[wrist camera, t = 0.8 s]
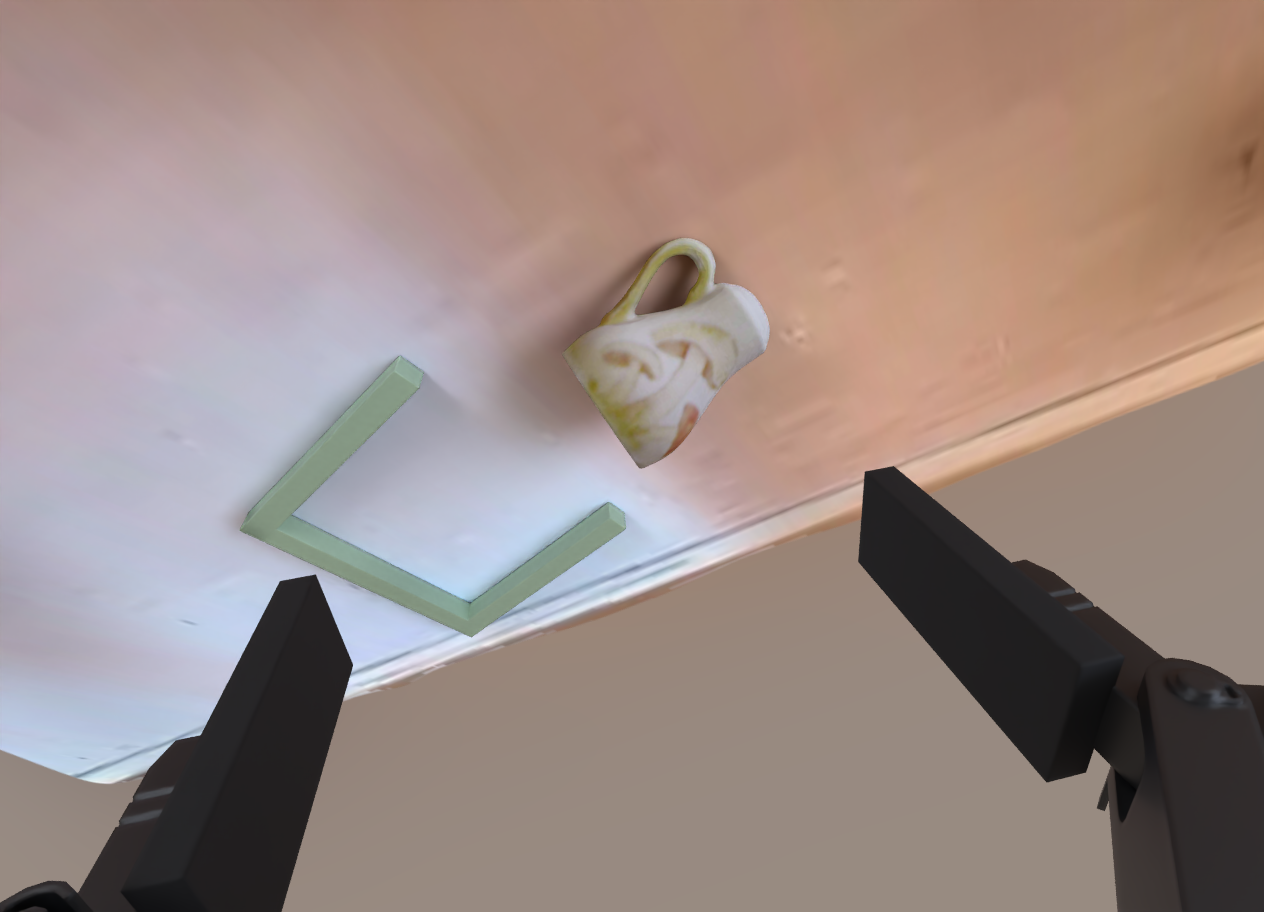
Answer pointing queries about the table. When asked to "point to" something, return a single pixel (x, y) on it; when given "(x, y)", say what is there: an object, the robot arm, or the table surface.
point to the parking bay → (377, 575)
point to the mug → (667, 355)
